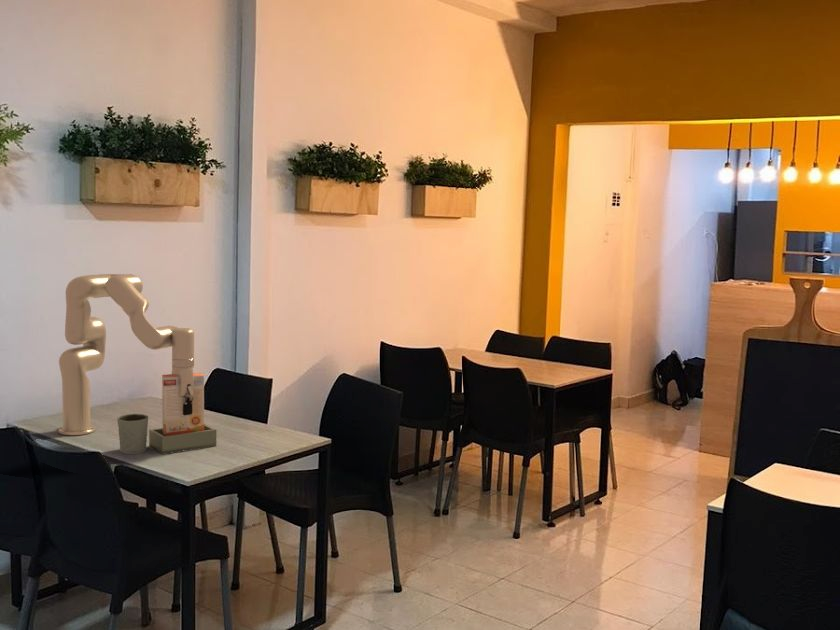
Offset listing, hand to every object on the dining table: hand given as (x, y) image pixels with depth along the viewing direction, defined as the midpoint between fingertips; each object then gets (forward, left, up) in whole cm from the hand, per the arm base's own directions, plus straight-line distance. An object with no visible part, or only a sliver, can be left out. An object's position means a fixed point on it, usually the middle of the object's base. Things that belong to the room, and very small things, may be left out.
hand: (183, 412), depth 301 cm
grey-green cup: (-3, -17, -13) cm, 21 cm away
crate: (0, 0, -12) cm, 12 cm away
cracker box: (0, 0, -7) cm, 7 cm away
